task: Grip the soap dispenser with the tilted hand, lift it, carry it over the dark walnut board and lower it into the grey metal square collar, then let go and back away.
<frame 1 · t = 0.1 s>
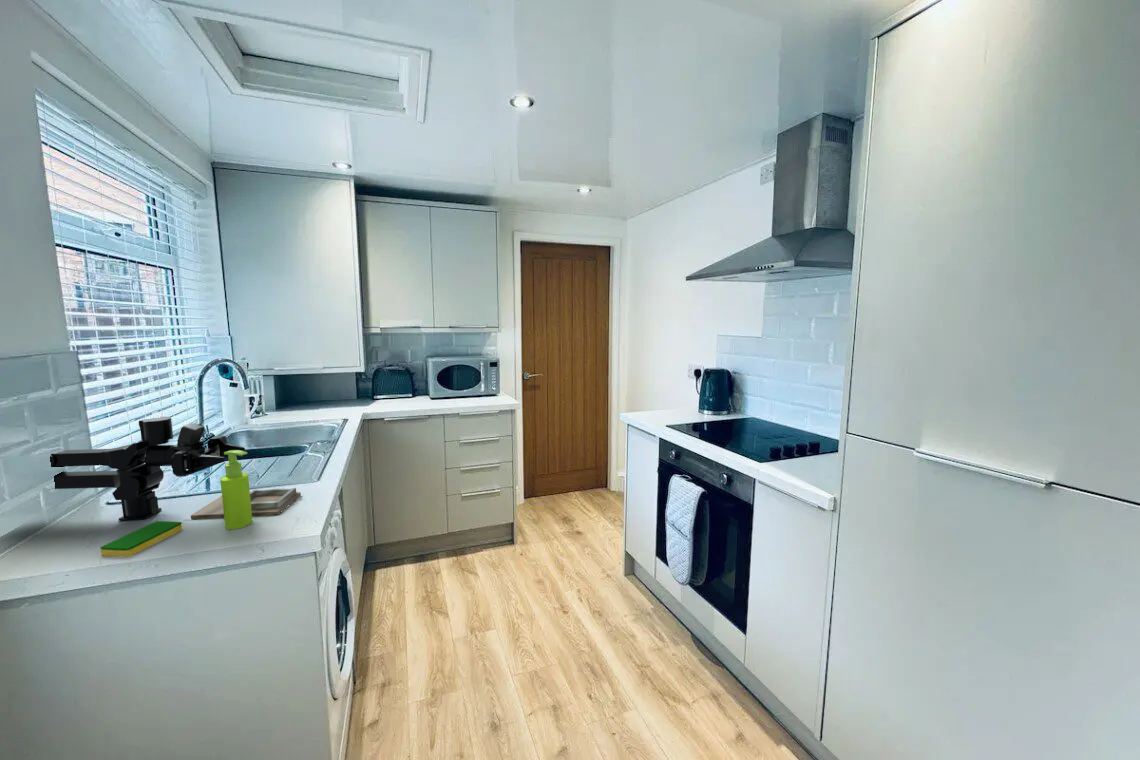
hand: (235, 454, 127), 17 cm above the countertop, tool horizontal, fingers open, 9 cm apart
dish sponge: (144, 543, 112), on the countertop
walnut holder board: (249, 506, 133), on the countertop
soap dispenser: (240, 525, 121), on the countertop
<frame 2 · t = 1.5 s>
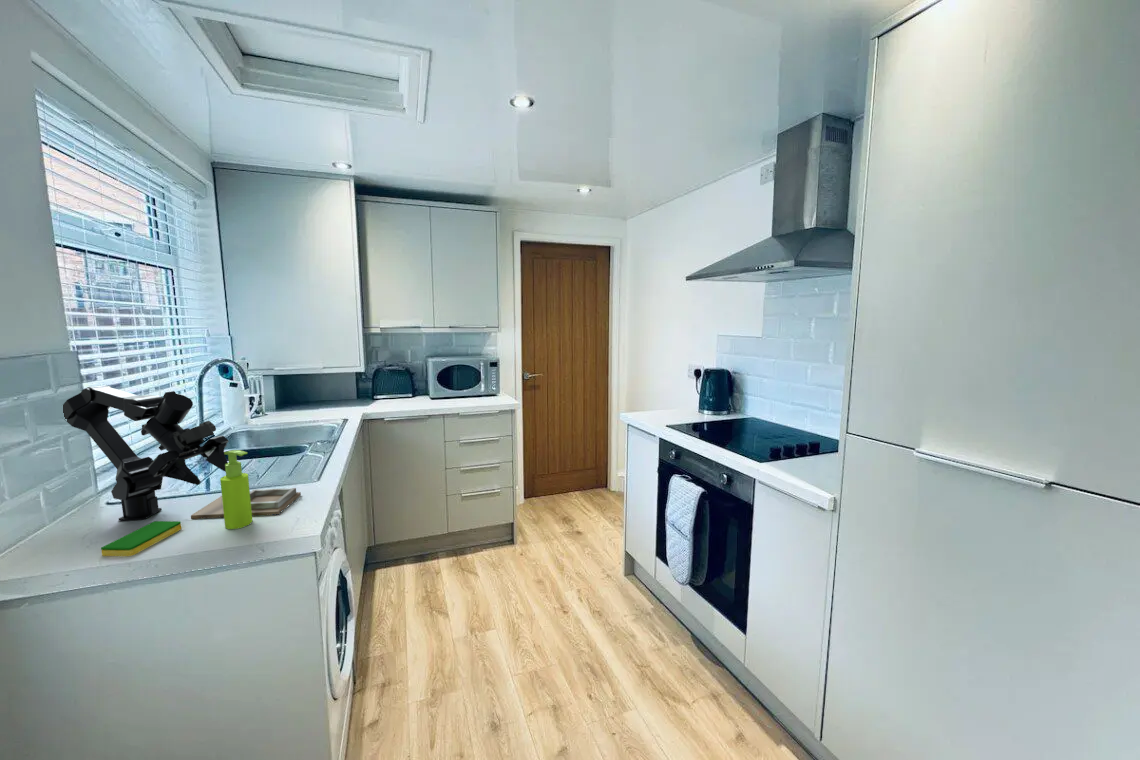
hand: (214, 477, 120), 13 cm above the countertop, tool tilted 45°, fingers open, 9 cm apart
nothing on the countertop moved.
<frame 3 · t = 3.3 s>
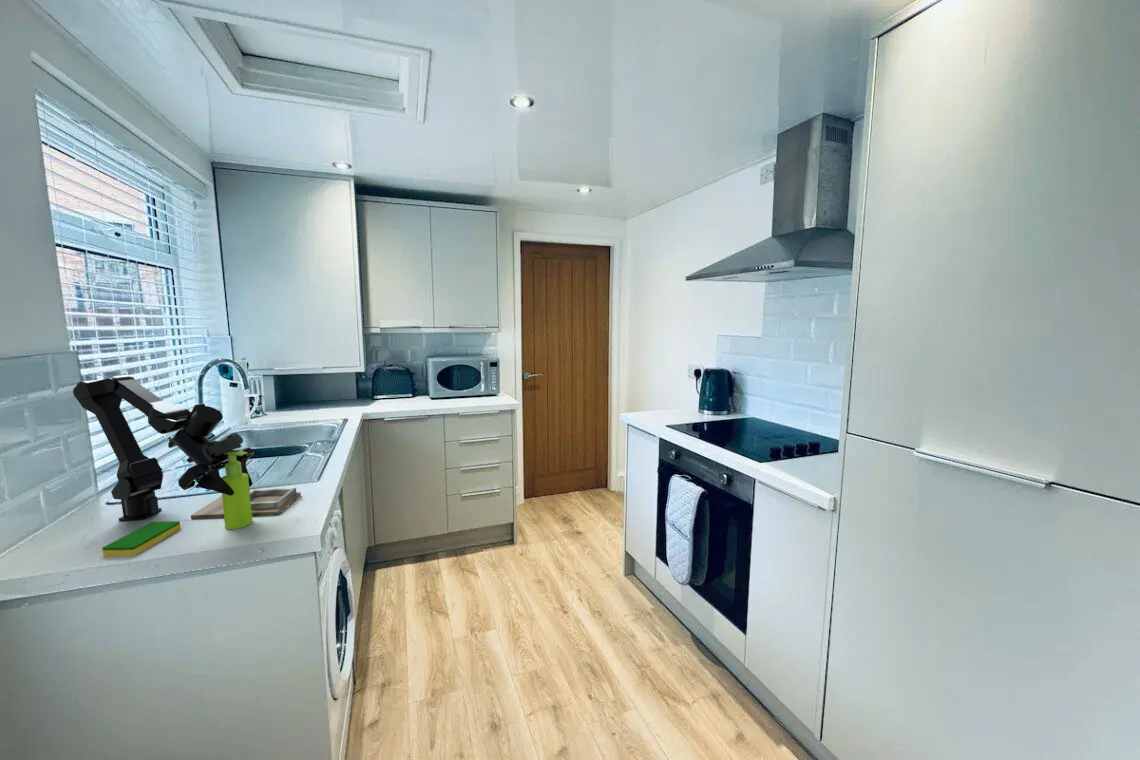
hand: (242, 489, 120), 10 cm above the countertop, tool tilted 45°, fingers closed on soap dispenser, 6 cm apart
soap dispenser: (240, 525, 121), on the countertop, touching gripper
everything else where it was.
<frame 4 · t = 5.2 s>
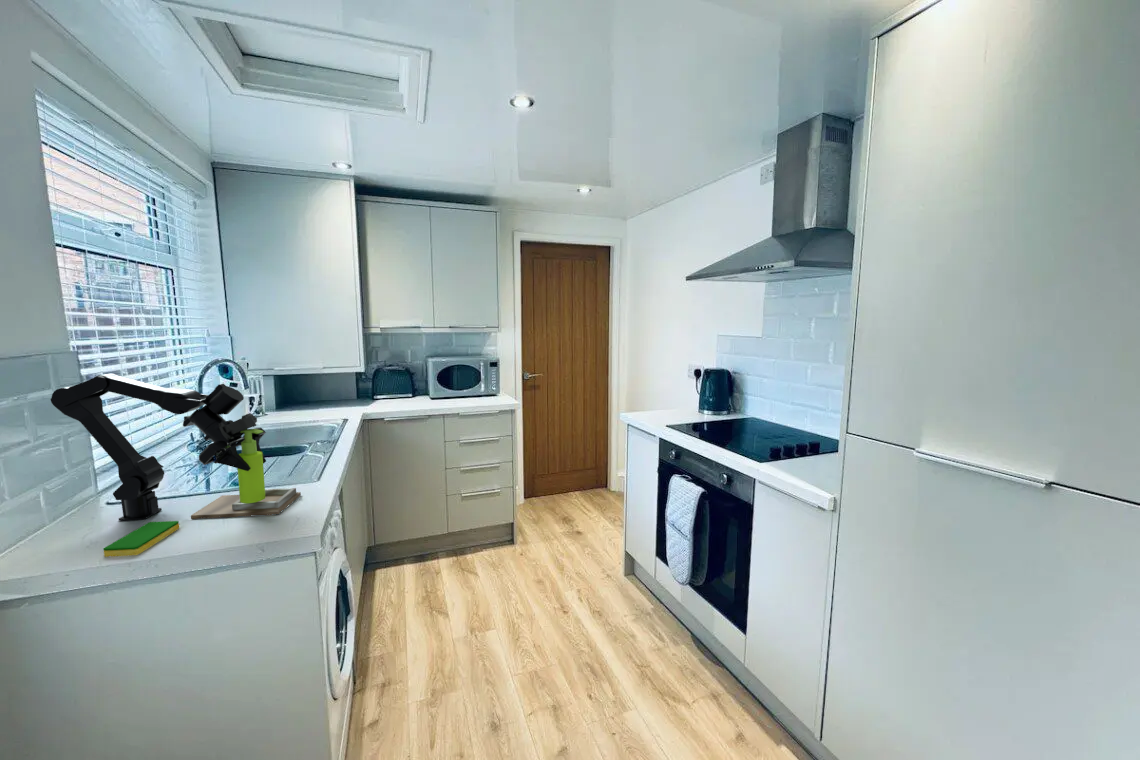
hand: (257, 466, 127), 13 cm above the countertop, tool tilted 45°, fingers closed on soap dispenser, 6 cm apart
soap dispenser: (254, 500, 128), point 3 cm above the countertop, touching gripper
everything else where it was.
when the fingers open (11 cm above the countertop, at t = 7.0 s): soap dispenser stays where it is, resting on walnut holder board.
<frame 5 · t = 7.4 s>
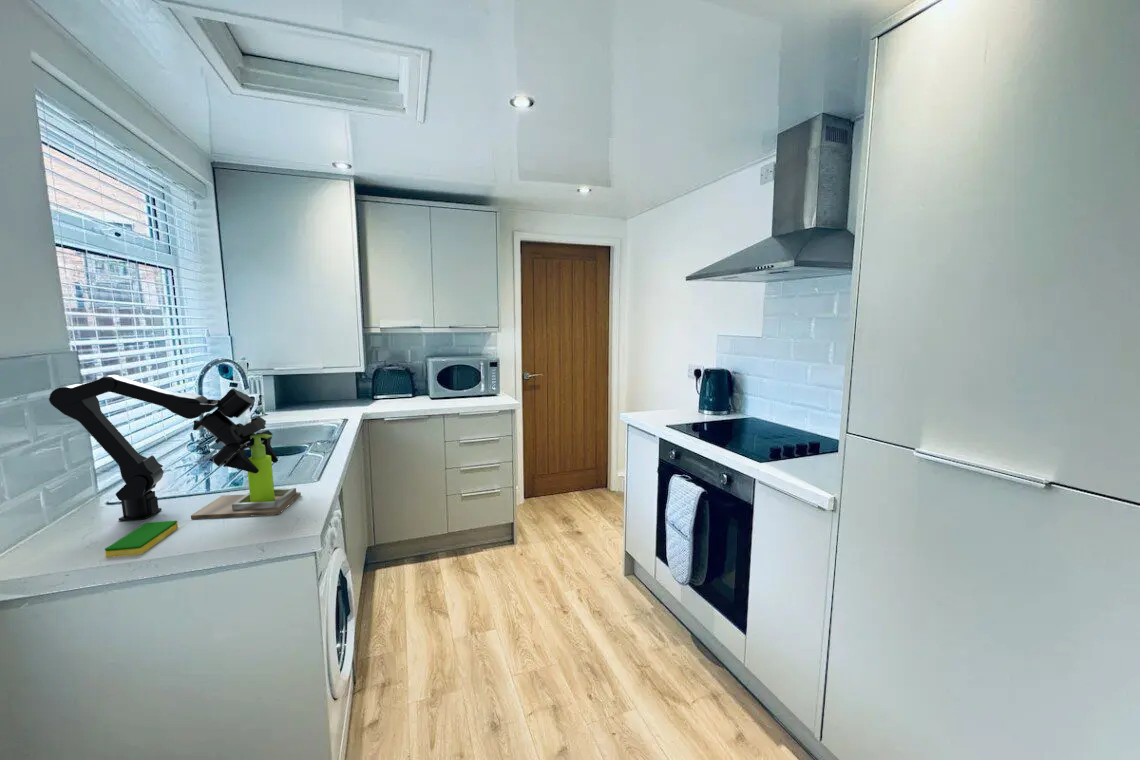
hand: (267, 466, 132), 11 cm above the countertop, tool tilted 45°, fingers open, 9 cm apart
soap dispenser: (264, 502, 134), point 1 cm above the countertop, touching walnut holder board
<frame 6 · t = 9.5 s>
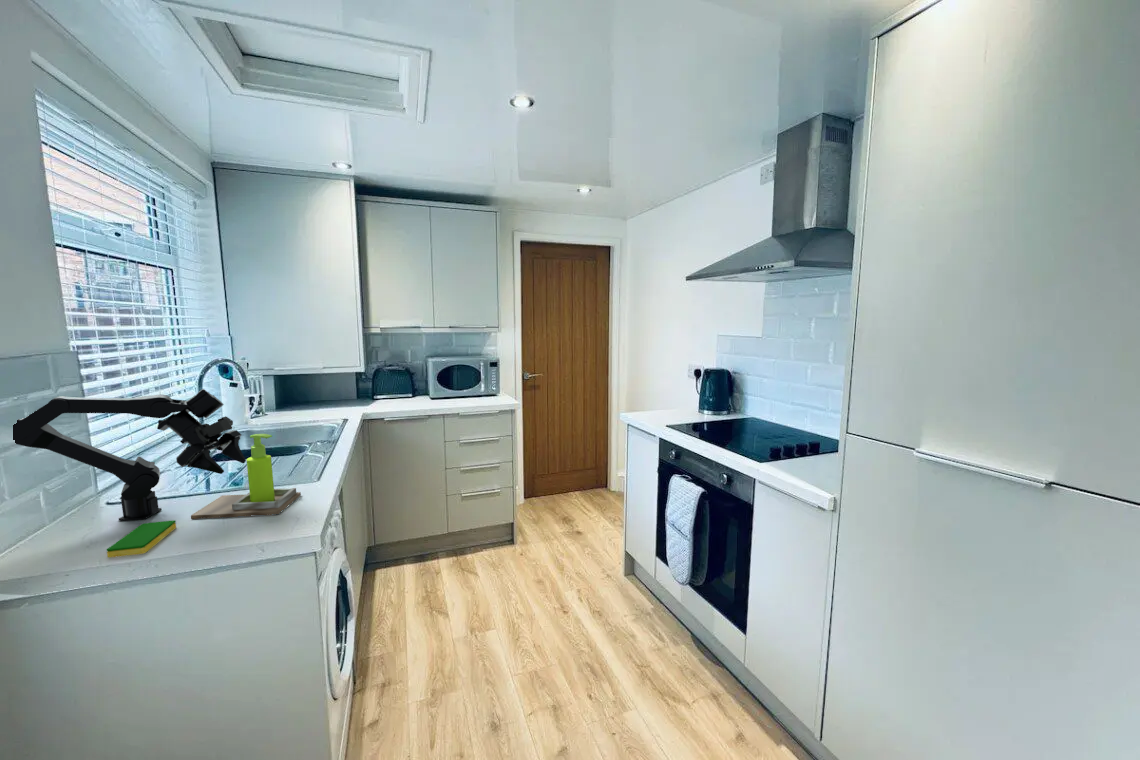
hand: (234, 467, 132), 11 cm above the countertop, tool tilted 45°, fingers open, 9 cm apart
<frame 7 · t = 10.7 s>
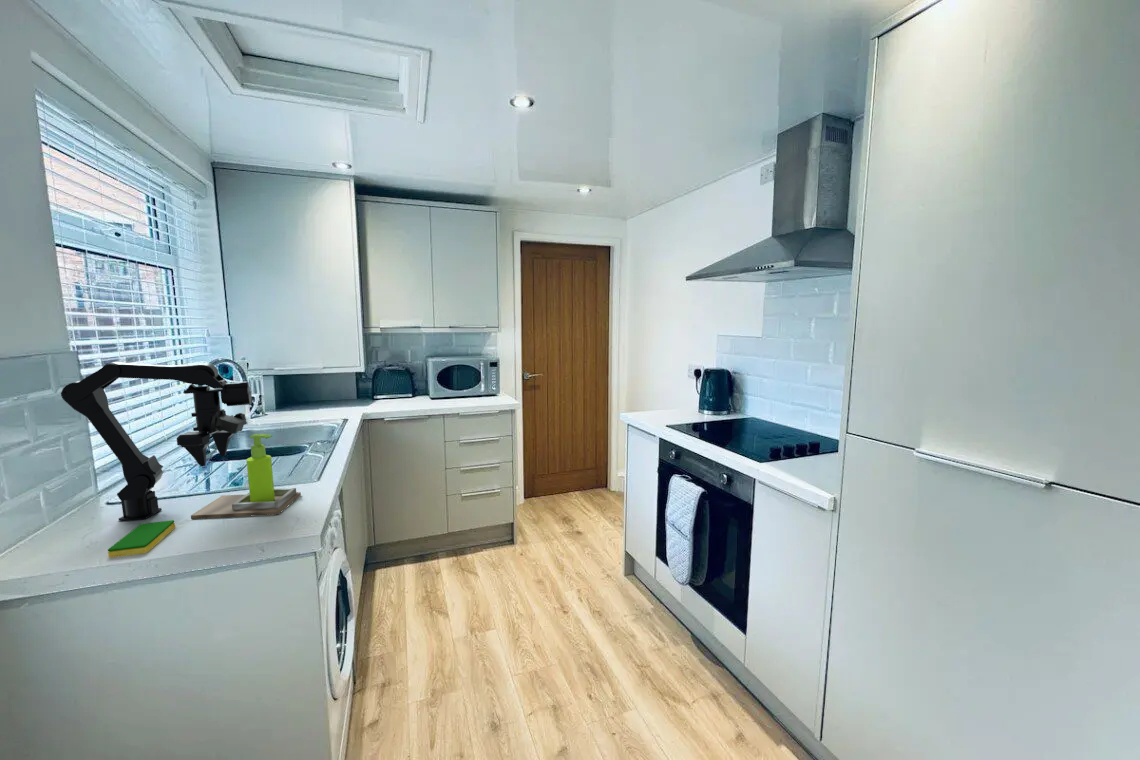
hand: (213, 460, 132), 13 cm above the countertop, tool pointing down, fingers open, 9 cm apart
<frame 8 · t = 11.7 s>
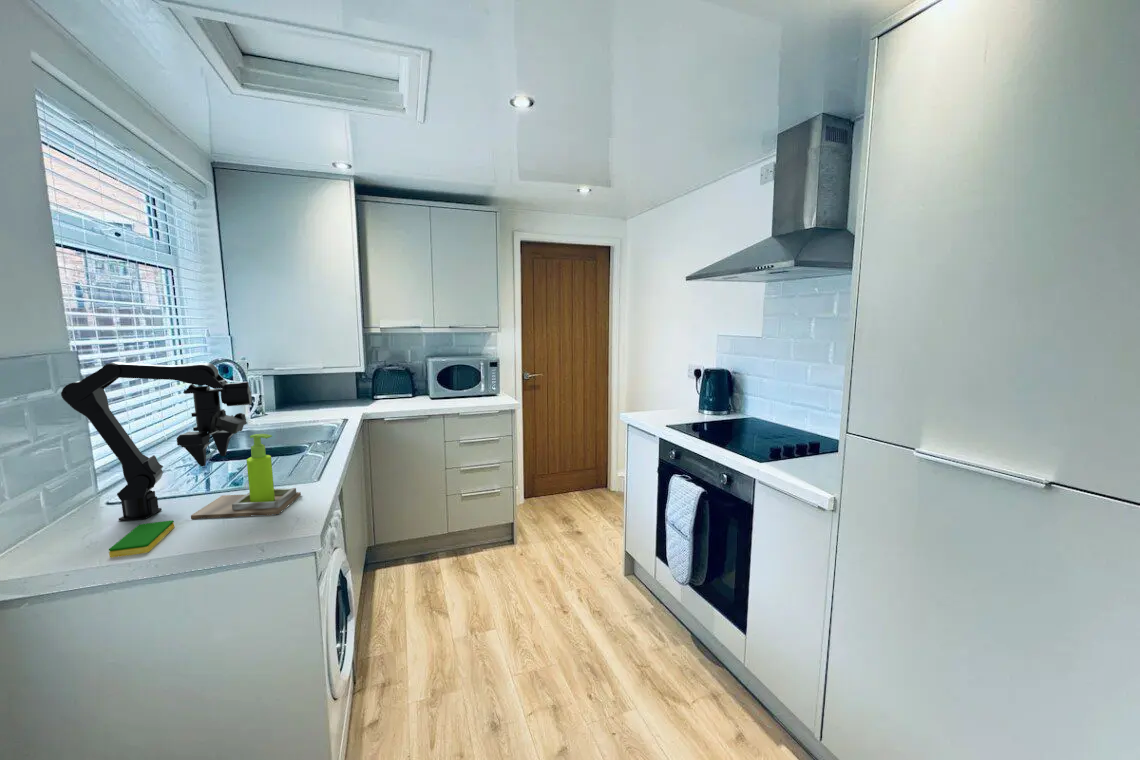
hand: (213, 460, 132), 13 cm above the countertop, tool pointing down, fingers open, 9 cm apart
at the end: soap dispenser 0.3 cm from the target spot on the walnut holder board, point 0.8 cm above the walnut holder board's base; soap dispenser tilted 0°; the gripper is holding nothing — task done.
